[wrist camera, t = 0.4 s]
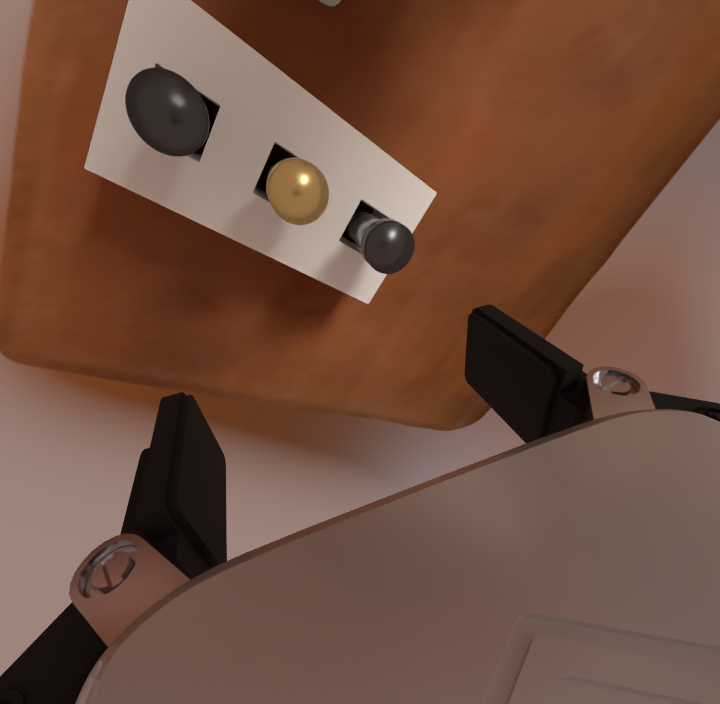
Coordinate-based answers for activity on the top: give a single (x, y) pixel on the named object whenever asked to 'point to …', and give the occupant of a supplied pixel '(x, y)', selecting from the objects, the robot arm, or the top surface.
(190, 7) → the block
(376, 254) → the far plunger
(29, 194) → the top surface
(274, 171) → the brass plunger
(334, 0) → the emergency button
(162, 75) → the near plunger
